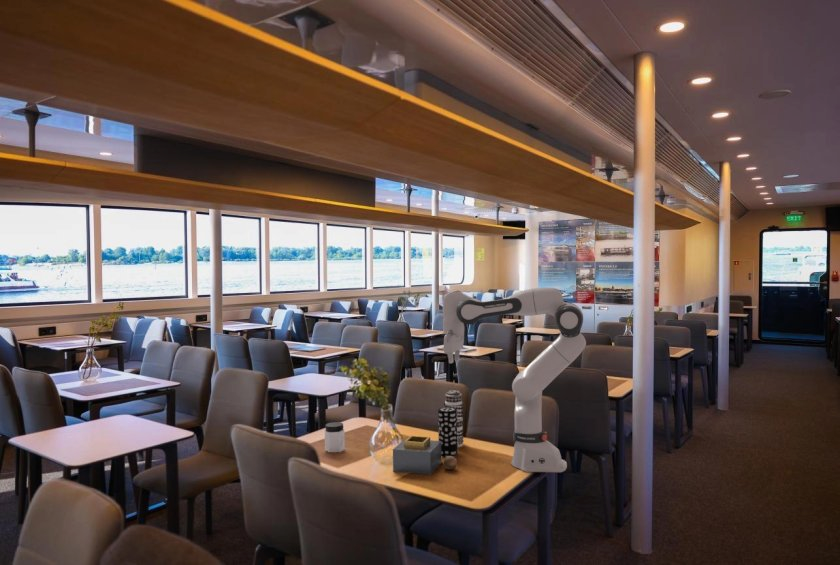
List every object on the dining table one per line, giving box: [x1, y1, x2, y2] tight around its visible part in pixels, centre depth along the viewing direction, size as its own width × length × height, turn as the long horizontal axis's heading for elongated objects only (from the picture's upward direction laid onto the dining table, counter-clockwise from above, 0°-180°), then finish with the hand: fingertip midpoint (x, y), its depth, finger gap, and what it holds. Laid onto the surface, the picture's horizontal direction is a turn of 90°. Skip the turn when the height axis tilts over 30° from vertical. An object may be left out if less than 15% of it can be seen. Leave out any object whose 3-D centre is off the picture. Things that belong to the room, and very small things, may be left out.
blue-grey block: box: [392, 435, 443, 476], centre depth 241 cm, size 16×16×12 cm
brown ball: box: [443, 456, 458, 471], centre depth 237 cm, size 6×6×6 cm
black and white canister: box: [443, 389, 465, 448], centre depth 271 cm, size 9×9×25 cm
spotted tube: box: [437, 406, 459, 458], centre depth 256 cm, size 8×8×20 cm
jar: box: [324, 421, 346, 453], centre depth 266 cm, size 9×8×12 cm
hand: (454, 361), depth 247 cm, fingers open, 8 cm apart
